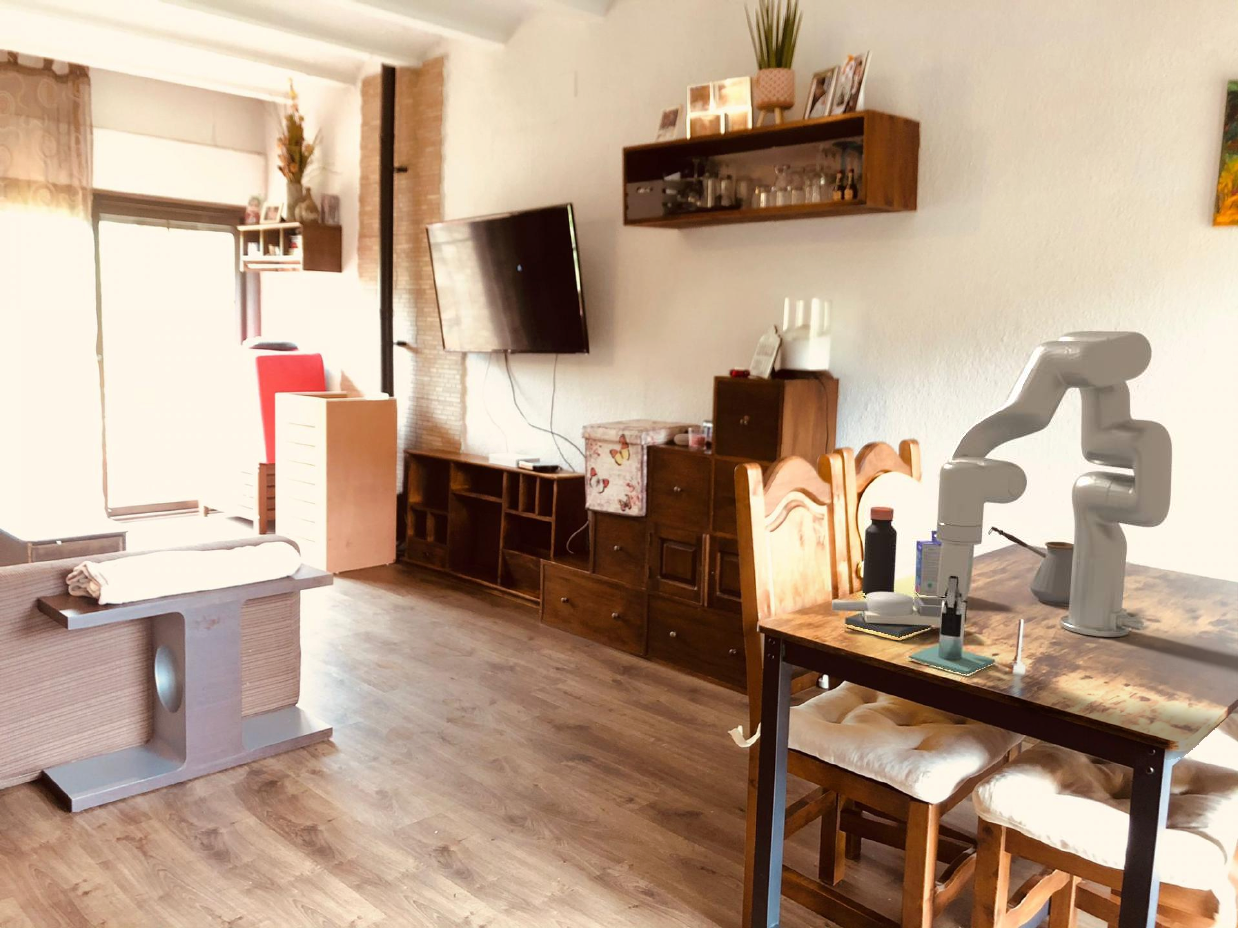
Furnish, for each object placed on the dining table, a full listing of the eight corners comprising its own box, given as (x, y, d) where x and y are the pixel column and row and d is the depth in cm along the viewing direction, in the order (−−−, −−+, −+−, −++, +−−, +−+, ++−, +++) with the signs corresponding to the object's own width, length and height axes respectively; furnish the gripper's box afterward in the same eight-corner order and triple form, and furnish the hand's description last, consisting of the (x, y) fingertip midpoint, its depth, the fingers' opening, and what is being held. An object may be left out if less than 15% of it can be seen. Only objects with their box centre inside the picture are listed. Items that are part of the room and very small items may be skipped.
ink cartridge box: (956, 592, 226) (960, 530, 224) (964, 599, 220) (968, 534, 218) (912, 591, 226) (916, 529, 224) (919, 598, 220) (923, 534, 219)
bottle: (871, 601, 217) (876, 511, 214) (856, 593, 223) (860, 506, 221) (899, 600, 218) (904, 510, 216) (883, 592, 225) (887, 505, 222)
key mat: (994, 664, 175) (994, 658, 175) (966, 676, 168) (967, 671, 168) (937, 649, 183) (937, 644, 183) (908, 660, 176) (909, 655, 176)
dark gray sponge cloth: (931, 629, 196) (931, 619, 196) (898, 641, 188) (899, 631, 188) (878, 616, 205) (878, 607, 204) (844, 627, 197) (845, 617, 196)
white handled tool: (834, 621, 193) (835, 601, 192) (829, 608, 202) (830, 589, 201) (959, 626, 190) (960, 606, 190) (948, 613, 199) (950, 594, 199)
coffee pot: (1090, 600, 221) (1095, 534, 219) (1078, 611, 212) (1083, 542, 210) (992, 585, 233) (996, 522, 232) (977, 594, 224) (981, 529, 222)
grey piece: (965, 656, 176) (969, 602, 175) (956, 662, 173) (960, 606, 171) (943, 651, 179) (947, 597, 177) (934, 656, 175) (938, 602, 174)
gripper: (942, 523, 182) (937, 613, 184) (930, 539, 167) (924, 638, 169) (985, 526, 179) (980, 619, 181) (977, 543, 164) (971, 644, 166)
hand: (953, 628), depth 175 cm, fingers open, 9 cm apart
